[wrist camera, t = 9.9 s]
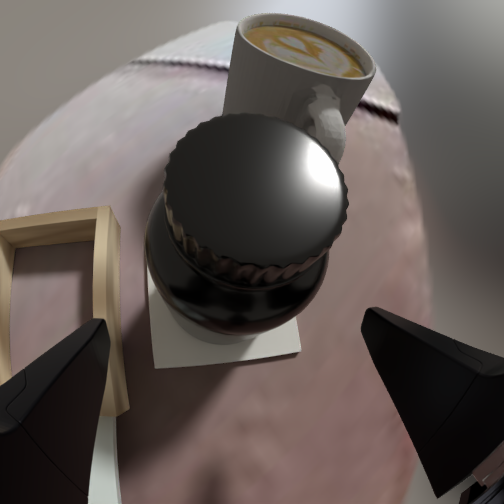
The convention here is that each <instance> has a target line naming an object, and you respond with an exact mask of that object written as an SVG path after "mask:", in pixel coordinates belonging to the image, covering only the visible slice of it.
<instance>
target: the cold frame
mask: <svg viewBox="0 0 504 504" xmlns="http://www.w3.org/2000/svg"><path fill="white" fill-rule="evenodd" d="M120 229H121V227H120V225H119V223H118V221H117V219H116V217H115V215H114V213H113V211H112V209H111V207H110V206H101V207H92V208H83V209H75V210H67V211H60V212H52V213H45V214H38V215H31V216H25V217H19V218H13V219H7V220H1V221H0V386H1V385H2V384H4V383H5V382H6V381H8V380H9V379H10V378H12V375H11V362H10V338H9V320H10V295H11V282H12V272H13V263H14V256H15V249H16V248H22V247H31V246H41V245H51V244H61V243H71V242H82V241H93V240H95V245H94V263H93V318H103V319H105V321H106V323H107V328H108V332H109V336H110V340H111V347H110V354H109V362H108V371H107V380H106V386H105V391H104V396H103V401H102V406H101V411H100V416H109V417H117V416H119V415H121V414H122V413H124V412H125V411H127V410H129V409H130V406H129V400H128V393H127V385H126V378H125V369H124V359H123V348H122V336H121V319H120V289H119V259H120Z"/></svg>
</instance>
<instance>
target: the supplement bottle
mask: <svg viewBox="0 0 504 504" xmlns="http://www.w3.org/2000/svg"><path fill="white" fill-rule="evenodd" d="M164 178H165V181H164V184H163V191H162V192H161V194H160V195H159V197H158V198H157V200H156V202H155V203H154V205H153V207H152V209H151V211H150V214H149V217H148V220H147V224H146V229H145V238H144V248H145V257H146V261H147V266H148V269H149V272H150V275H151V278H152V280H153V282H154V284H155V286H156V288H157V290H158V292H159V294H160V295H161V297H162V299H163V301H164V302H165V304H166V306H167V308H168V309H169V311H170V313H171V315H172V316H173V318H174V319H175V320H176V322H177V323H178V324H179V325H180V326H181V327H182V328H183V329H184V330H185V331H186V332H187V333H188V334H190V335H191V336H193V337H195V338H197V339H199V340H201V341H203V342H207V343H211V344H217V345H229V344H235V343H239V342H243V341H246V340H248V339H251V338H253V337H256V336H258V335H261V334H263V333H265V332H268V331H270V330H273V329H275V328H277V327H279V326H281V325H283V324H285V323H286V322H288V321H290V320H291V319H293V318H294V317H295V316H297V315H298V314H299V313H300V312H302V311H303V310H304V309H305V308H306V307H307V306H308V305H309V303H310V302H311V301H312V300H313V298H314V297H315V295H316V294H317V292H318V291H319V289H320V287H321V285H322V283H323V280H324V278H325V275H326V271H327V267H328V261H329V249H330V248H331V246H332V244H333V242H334V241H335V240H336V239H337V238H338V237H339V236H340V234H341V231H342V225H343V224H344V223H345V221H346V220H347V214H346V209H347V208H348V206H349V202H348V199H347V192H348V188H347V186H346V185H345V183H344V175H343V173H342V172H341V171H340V169H339V167H338V163H337V161H336V160H335V159H334V158H333V157H332V156H331V154H330V152H329V150H328V149H327V148H326V147H324V146H323V145H322V144H321V143H320V141H319V140H318V139H317V138H315V137H313V136H311V135H310V134H309V133H308V132H307V131H306V130H304V129H302V128H299V127H297V126H295V125H294V124H293V123H291V122H287V121H283V120H281V119H279V118H277V117H272V116H266V115H264V114H250V113H246V112H244V113H240V114H230V113H229V114H227V115H225V116H221V117H214V118H212V119H211V120H210V121H207V122H202V123H200V124H199V125H198V126H197V127H196V128H194V129H192V130H189V131H188V132H187V134H186V136H185V137H184V138H182V139H180V140H179V141H178V142H177V145H176V148H175V149H174V150H173V151H172V152H171V153H170V155H169V163H168V164H167V166H166V167H165V170H164Z"/></svg>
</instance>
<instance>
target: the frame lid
mask: <svg viewBox="0 0 504 504" xmlns="http://www.w3.org/2000/svg"><path fill="white" fill-rule="evenodd" d="M88 504H122V502H121V494H120V484H119V474H118V460H117V440H116V417H109V416H99V421H98V427H97V433H96V439H95V445H94V452H93V459H92V467H91V475H90V485H89V496H88Z"/></svg>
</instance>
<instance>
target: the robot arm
mask: <svg viewBox="0 0 504 504" xmlns="http://www.w3.org/2000/svg"><path fill="white" fill-rule="evenodd" d="M361 333H362V335H363V338H364V340H365V343H366V345H367V348H368V350H369V353H370V355H371V358H372V360H373V363H374V365H375V367H376V369H377V371H378V373H379V375H380V377H381V379H382V381H383V383H384V385H385V387H386V389H387V391H388V393H389V395H390V397H391V399H392V401H393V403H394V405H395V407H396V409H397V411H398V413H399V415H400V417H401V419H402V421H403V423H404V425H405V427H406V430H407V432H408V434H409V436H410V438H411V440H412V442H413V445H414V447H415V449H416V451H417V453H418V456H419V458H420V461H421V463H422V465H423V467H424V470H425V472H426V474H427V476H428V479H429V481H430V484H431V486H432V489H433V491H434V494H435V496H436V497H437V498H440V497H441V496H443V495H444V494H446V493H447V492H449V491H450V490H451V489H453V488H455V487H456V486H457V485H459V484H460V483H462V482H463V481H464V480H466V479H467V478H468V477H470V476H471V475H472V474H473V475H474V476H475V478H476V479H477V482H475V483H474V484H473V485H472V486H470V487H469V488H468V489H467V490H465V491H464V492H463V493H462V494H461V497H460V502H459V504H504V358H503V357H500V356H497V355H494V354H491V353H488V352H486V351H483V350H480V349H477V348H474V347H472V346H469V345H467V344H464V343H462V342H459V341H457V340H455V339H452V338H450V337H447V336H445V335H443V334H440V333H438V332H436V331H433V330H431V329H428V328H426V327H424V326H421V325H419V324H417V323H414V322H412V321H409V320H407V319H405V318H402V317H400V316H398V315H395V314H393V313H391V312H388V311H386V310H383V309H381V308H379V307H371V308H368V309H367V310H366V311H365V315H364V318H363V321H362V325H361ZM110 347H111V340H110V336H109V332H108V328H107V323H106V321H105V319H103V318H92V319H91V320H89V321H88V322H87V323H85V324H84V325H82V326H81V327H80V328H78V329H77V330H75V331H74V332H73V333H71V334H70V335H69V336H67V337H66V338H64V339H63V340H62V341H60V342H59V343H58V344H56V345H55V346H53V347H52V348H51V349H49V350H48V351H47V352H45V353H44V354H43V355H41V356H40V357H39V358H37V359H36V360H34V361H33V362H32V363H30V364H29V365H28V366H27V367H25V369H22V370H21V371H20V372H19V373H17V374H16V375H15V376H13V377H12V378H10V379H9V380H8V381H6V382H5V383H4V384H2V385H1V386H0V504H88V496H89V485H90V475H91V467H92V459H93V452H94V445H95V439H96V433H97V427H98V421H99V416H100V411H101V406H102V401H103V396H104V391H105V386H106V380H107V371H108V362H109V354H110Z"/></svg>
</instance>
